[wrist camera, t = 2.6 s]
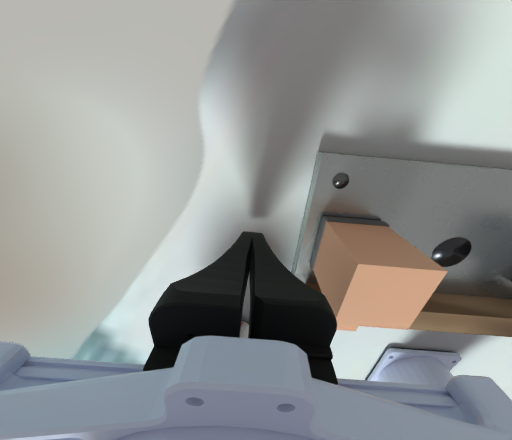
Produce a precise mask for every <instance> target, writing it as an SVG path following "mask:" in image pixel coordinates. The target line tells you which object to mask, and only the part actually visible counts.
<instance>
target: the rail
mask: <svg viewBox="0 0 512 440" xmlns="http://www.w3.org/2000/svg"><path fill="white" fill-rule="evenodd" d="M305 284H307V285H308V286H310V287H311V288H313V289H315V290H316V291H318V292H320V293H322V292H321V289H320V286H319V284H317V283H305ZM409 329H414V330H427V331H440V332H453V333H466V334H479V335H492V336H505V337H512V299H504V298H491V297H479V296H466V295H454V294H441V293H433V294H432V295H431V297H430V298H429V300H428V301H427V303H426V304H425V305H424V307H423V308H422V310H421V311H420V313H419V314H418V316H417V317H416V319H415V320H414V321H413V323H412V324H411V326H410V327H409Z"/></svg>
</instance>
